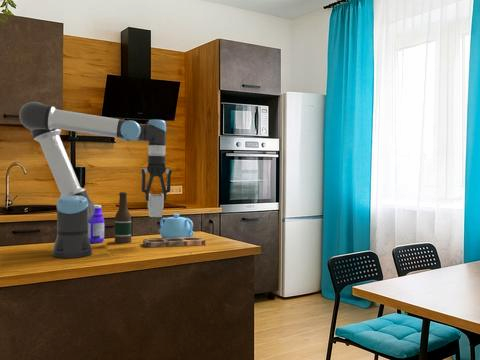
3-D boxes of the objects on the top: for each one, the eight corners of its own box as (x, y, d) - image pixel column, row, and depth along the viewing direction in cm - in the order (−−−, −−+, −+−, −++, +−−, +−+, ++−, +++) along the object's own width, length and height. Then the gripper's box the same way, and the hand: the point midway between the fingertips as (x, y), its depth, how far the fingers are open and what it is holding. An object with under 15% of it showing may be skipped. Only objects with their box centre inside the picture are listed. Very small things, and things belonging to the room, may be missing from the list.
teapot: (150, 240, 233) (150, 214, 233) (171, 234, 252) (172, 210, 251) (185, 243, 226) (186, 216, 225) (205, 237, 244) (205, 212, 243)
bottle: (99, 240, 231) (99, 204, 230) (106, 241, 227) (106, 205, 227) (86, 242, 225) (86, 205, 225) (93, 243, 222) (93, 206, 221)
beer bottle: (134, 243, 223) (134, 191, 222) (128, 246, 215) (128, 192, 215) (117, 243, 224) (117, 191, 223) (111, 246, 216) (111, 192, 215)
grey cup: (150, 217, 209) (151, 195, 209) (148, 215, 214) (149, 194, 213) (162, 217, 211) (162, 195, 210) (159, 215, 215) (160, 194, 215)
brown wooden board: (146, 250, 206) (146, 242, 206) (143, 246, 216) (143, 239, 216) (205, 247, 215) (205, 240, 215) (199, 243, 225) (199, 236, 225)
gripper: (137, 154, 205) (135, 209, 206) (178, 156, 211) (177, 209, 212) (134, 154, 212) (133, 207, 213) (175, 156, 218) (173, 207, 219)
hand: (155, 208), depth 212 cm, fingers closed on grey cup, 5 cm apart
